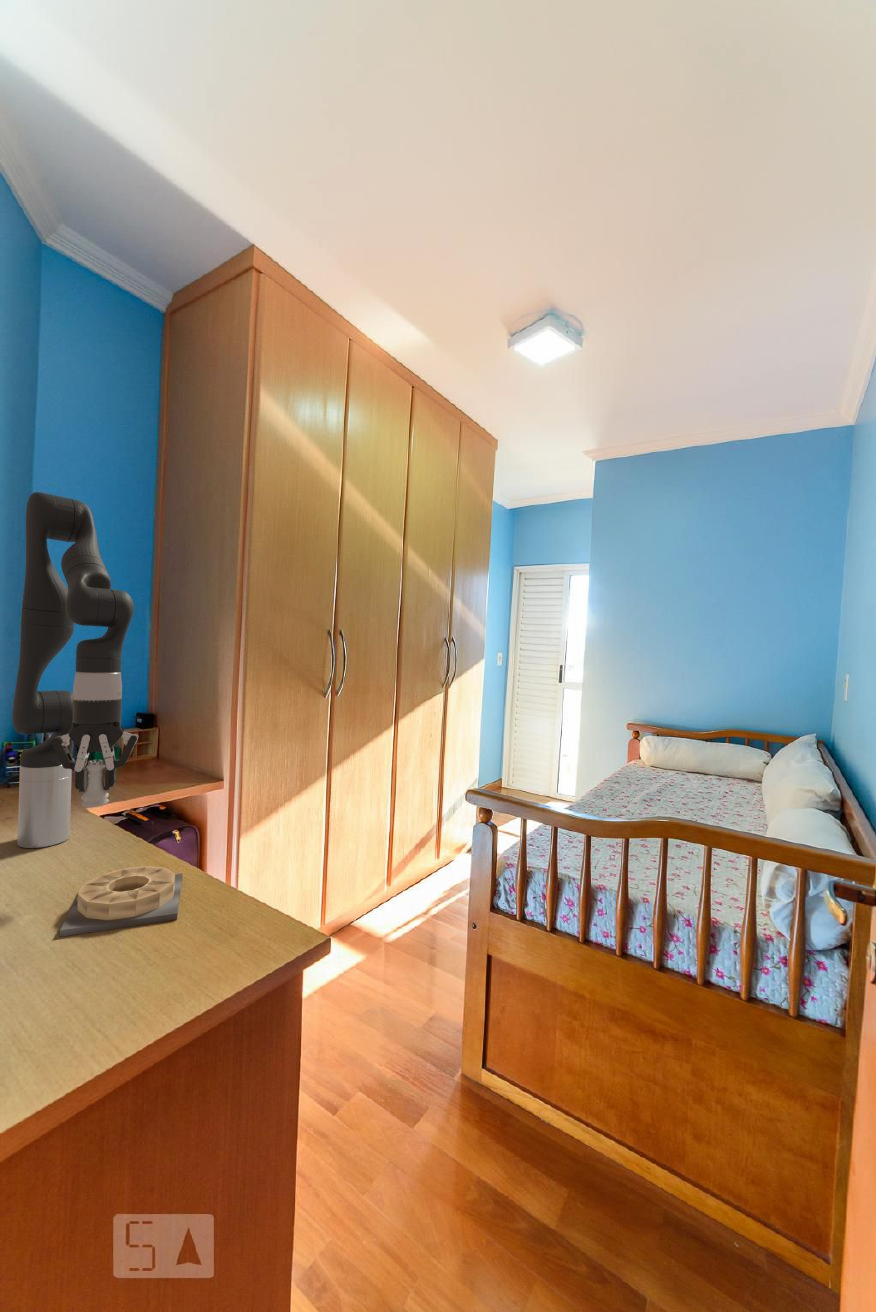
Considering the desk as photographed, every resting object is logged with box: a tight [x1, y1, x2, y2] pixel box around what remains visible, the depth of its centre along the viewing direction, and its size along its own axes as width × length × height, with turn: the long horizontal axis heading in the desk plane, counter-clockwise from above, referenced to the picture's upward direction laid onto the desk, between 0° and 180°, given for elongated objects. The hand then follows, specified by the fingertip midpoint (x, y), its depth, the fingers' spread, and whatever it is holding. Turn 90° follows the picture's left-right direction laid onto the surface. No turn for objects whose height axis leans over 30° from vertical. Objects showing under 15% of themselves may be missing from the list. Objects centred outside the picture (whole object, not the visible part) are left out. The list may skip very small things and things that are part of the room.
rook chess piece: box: [79, 759, 110, 808], centre depth 96 cm, size 4×4×8 cm
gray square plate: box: [59, 865, 183, 938], centre depth 90 cm, size 16×16×4 cm
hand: (95, 789), depth 96 cm, fingers closed on rook chess piece, 3 cm apart
